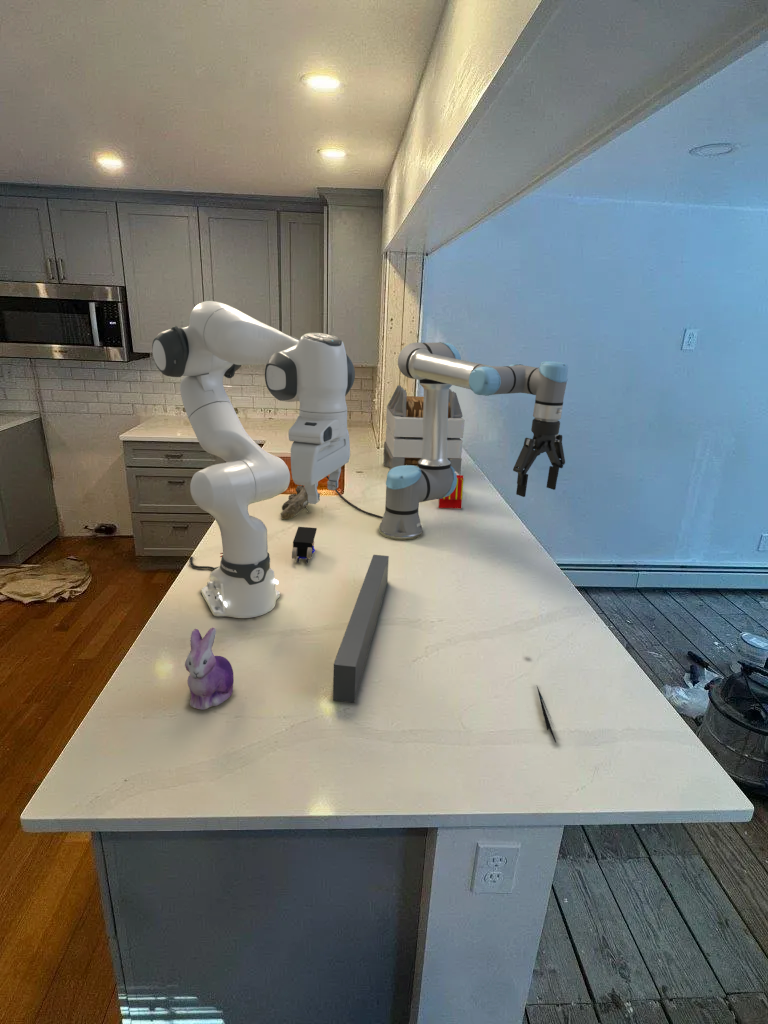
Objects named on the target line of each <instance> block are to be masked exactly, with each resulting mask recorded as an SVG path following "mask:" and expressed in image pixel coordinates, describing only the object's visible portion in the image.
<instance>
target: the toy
mask: <svg viewBox="0 0 768 1024" xmlns="http://www.w3.org/2000/svg"><path fill="white" fill-rule="evenodd" d="M455 473H456V475H457V484H456V487H455V490H454V491H453V492H452V493H451V494H450V495H449V496H447V497H443V498H441V499H438V509H459V510H460V509H462V507H463V493H464V492H463V491H464V480H465V479H464V475H462V474H460V475H459V474H458V473H457V472H456V471H455Z"/></svg>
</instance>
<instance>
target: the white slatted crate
mask: <svg viewBox="0 0 768 1024" xmlns="http://www.w3.org/2000/svg"><path fill="white" fill-rule="evenodd" d="M407 394H408V393H407V390H406V389H404V388H403V387H402V385H399V384H398V385H397V386H396V388H395V390H394V392H393V394H392V395H391V398H390V400H389V402H388V404H387V405H386V413H385V414H386V415H385V423H386V428H385V438H384V442H383V466H384V467H388V468H389V471H390V470H391V469H392V468H394V467H397V466H402V465H405V466H407V465H413V466H417V467H418V461H419V460H420V459H421V458H422V448H423V400H424V396H415V395H414V396H413V395H412V396H411V395H407ZM464 429H465V419H464V418H463V411H462V408H461V405H460V402H459V398H458V395H457V392H455V391H453V390H452V389H451V388H449V397H448V427H447V459H448V460H449V461H450V462H451V467H453V468H454V470H455V471H456V472H457V473H458V474H459V475H462V474H461V472H462V461H463V460H462V453H463V442H464V441H463V440H462V439H463V438H464V431H465V430H464Z"/></svg>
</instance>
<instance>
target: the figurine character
mask: <svg viewBox="0 0 768 1024" xmlns="http://www.w3.org/2000/svg"><path fill="white" fill-rule="evenodd" d="M317 530H318V529H317V527H308V526H297V530H296V532H295V535H294V538H293V541H292V551H291V559H294V560H296V563H297V564H299V563H300V560H305V564H308V563H309V560H312V558H313V554H314V553H315V552H316V549H315V546H314V545H315V537H316V533H317Z"/></svg>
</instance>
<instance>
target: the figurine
mask: <svg viewBox="0 0 768 1024" xmlns="http://www.w3.org/2000/svg"><path fill="white" fill-rule="evenodd" d="M216 634H217V629H216V628H215V627H214V626H212V627H211V628H210V629H208V631H207V632H206V634H205V635H204V636H203V637H202V635H201V631H200V630H199V629H198V628H194V629H193V630H191V634H190V638H189V639H190V640H189V641H190V643H189V646H190V650H189V652H188V655H187V656H186V658H185V662H184V668H185V669H186V671H187V672H188V673H189V675H188V677H187V686H188V688H189V692H190V702H189V706H190V707H191V708H194V709H197V710H202V711H203V710H208V709H209V708H211V707H217V706H220V705H221V704H222V703H225V701H227V700H228V699H229V698H230V697H232V694H233V691H234V670H233V666H232V664H231V662H230V661H229V660H228V658H226V657H225V656H222V655H215V654H214V651H213V650H212V648H213V645H214V642H215V639H216Z"/></svg>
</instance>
